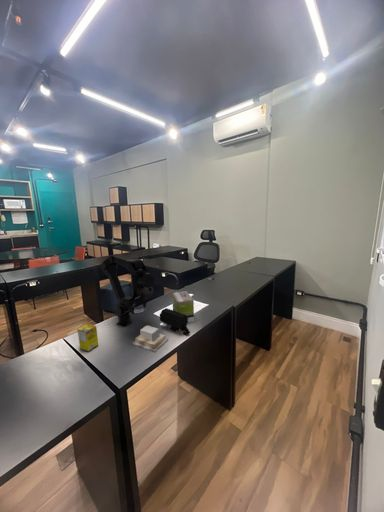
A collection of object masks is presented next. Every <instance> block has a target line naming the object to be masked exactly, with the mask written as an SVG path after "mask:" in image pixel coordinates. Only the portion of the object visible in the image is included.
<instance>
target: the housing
mask: <svg viewBox="0 0 384 512" xmlns="http://www.w3.org/2000/svg"><path fill="white" fill-rule="evenodd" d="M139 332H140V334H141V338H144V339H147V340H150V341H153V342H154V341H155V340H156V339H157V338H158V337H160V334H161V333H160V332H161V331H160V328H157V327H153V326H151V325H145V326H143V328H141V329H140V331H139Z"/></svg>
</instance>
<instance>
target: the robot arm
mask: <svg viewBox="0 0 384 512" xmlns="http://www.w3.org/2000/svg"><path fill="white" fill-rule="evenodd" d="M118 265H120V266H123V267H125V268H126V270H127V271H129V272H128V273H127V274H128V275H130V282H131V284H130V285H129V288H131V291H132V292H130V295H126V294H125V291H124V289H123V286H122V285H121V282H120V279H119V277H118V274H117V273H118ZM99 266H100V270H101V271H102V273H103V275H105V276H106V277H107V278H108V280H109V282H110V285H111V288H112V291H113V292H114V295H115V297H116V304H115V306H116V309H115V310H114V311H113V313H114V315H115V316H116V317H117V319H118V322H116V325H117V326H120V327H121V326H122V327H126V326H128V325H129V324H131V323H132V322H133V320H131V316H130V313H131V314H132V315H135V305H136V299H139V298H140V299H141V303H142V307H143V308H146V307H147V302H148V301H149V299H151V298H152V296H153V295H154V287H152V286H153V285H154V284H155V278H154V276H153V275H151V274H152V273H151V272H148V268H147V267H146V265H145V263H144V261H143V260H142V259H140V258H129V257H126V256H123V255H120V254H111V255H109V256H108V258H106V259H105V260H103V261H102V262H101V264H100V265H99Z"/></svg>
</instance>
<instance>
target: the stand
mask: <svg viewBox="0 0 384 512" xmlns="http://www.w3.org/2000/svg"><path fill="white" fill-rule="evenodd" d="M168 341H169V338H168V337H166V335H165V334H162V333H160V337H158V338H157V339H156V340H155V341H154V342H153V341H150V340H147V339H144V338H141V333H140V334H139V335H137V336H136V337H135V338H134V341H133V342H132V343H131V344H132V345H133V346H137V347H139V348H142V349H145V350H147V351H150V352H153V353H157V351H158V350H159V349H160V348H162V346H164V345H165V344H166V343H167V342H168Z"/></svg>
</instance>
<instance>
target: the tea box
mask: <svg viewBox="0 0 384 512" xmlns="http://www.w3.org/2000/svg"><path fill="white" fill-rule="evenodd" d="M171 294H172V295H171V296H172V297H171V298H172V299H171V301H172V310H173V311H176V312H179V313H182V314H185V315H186V316H188V323H187V324H192V323H195V315H194V314H195V311H194V310H195V309H194V307H195V306H194V305H195V303H194V298H193V297H192V296H191V295H190V293H189V292H188V291H187V290H184V291H177V292H172V293H171Z"/></svg>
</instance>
